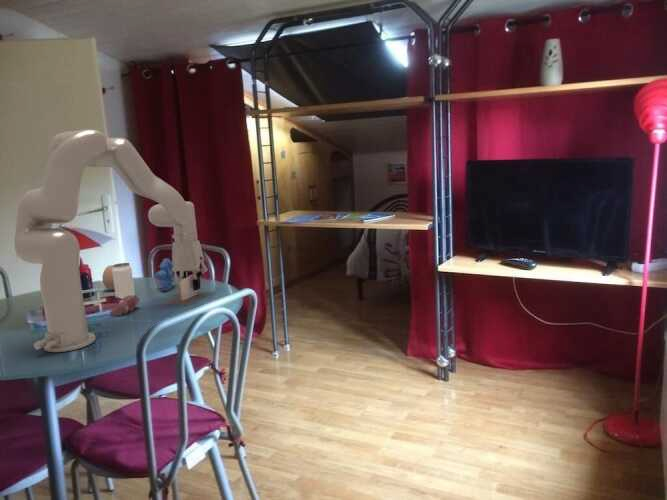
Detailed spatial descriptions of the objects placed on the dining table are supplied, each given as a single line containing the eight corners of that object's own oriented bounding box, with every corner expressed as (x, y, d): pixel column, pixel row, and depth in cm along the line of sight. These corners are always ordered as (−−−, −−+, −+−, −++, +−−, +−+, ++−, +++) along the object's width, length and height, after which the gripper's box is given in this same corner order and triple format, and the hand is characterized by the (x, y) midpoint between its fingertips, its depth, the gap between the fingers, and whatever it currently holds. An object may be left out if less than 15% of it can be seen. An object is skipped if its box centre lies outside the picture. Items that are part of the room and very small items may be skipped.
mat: (189, 306, 170) (189, 305, 170) (158, 305, 174) (158, 303, 174) (215, 293, 185) (214, 292, 185) (185, 292, 189) (185, 291, 189)
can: (126, 299, 183) (122, 266, 181) (111, 299, 185) (107, 266, 183) (138, 294, 189) (134, 262, 187) (124, 294, 191) (120, 262, 189)
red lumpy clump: (120, 323, 162) (126, 304, 160) (107, 316, 163) (113, 297, 161) (137, 313, 172) (143, 295, 170) (125, 307, 172) (131, 289, 170)
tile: (183, 300, 176) (181, 280, 174) (180, 300, 176) (177, 280, 175) (196, 294, 183) (194, 274, 182) (193, 294, 184) (191, 274, 182)
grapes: (161, 286, 199) (158, 256, 197) (179, 285, 199) (175, 255, 197) (151, 295, 188) (147, 262, 186) (170, 294, 188) (166, 261, 186)
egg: (101, 290, 199) (98, 265, 197) (119, 287, 203) (116, 262, 201) (107, 293, 194) (104, 268, 192) (126, 289, 198) (122, 264, 197)
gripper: (158, 239, 177) (165, 291, 181) (201, 239, 172) (206, 293, 176) (171, 236, 184) (177, 286, 188) (213, 235, 179) (218, 287, 183)
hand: (191, 288), depth 182 cm, fingers open, 3 cm apart
